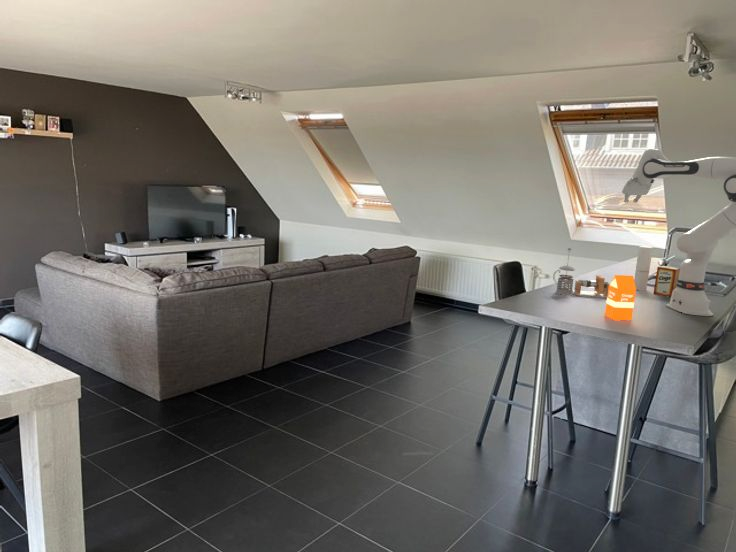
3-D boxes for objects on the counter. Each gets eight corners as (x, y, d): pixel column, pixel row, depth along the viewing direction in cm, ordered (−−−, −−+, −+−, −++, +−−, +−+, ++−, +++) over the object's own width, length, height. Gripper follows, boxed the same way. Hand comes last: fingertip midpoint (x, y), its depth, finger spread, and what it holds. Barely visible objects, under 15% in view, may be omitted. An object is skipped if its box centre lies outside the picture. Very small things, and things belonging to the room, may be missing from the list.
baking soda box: (675, 296, 304) (680, 267, 301) (671, 297, 300) (675, 268, 297) (657, 292, 311) (662, 265, 308) (653, 293, 307) (657, 266, 304)
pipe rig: (613, 298, 289) (615, 284, 288) (576, 295, 292) (578, 281, 290) (607, 294, 300) (609, 280, 298) (571, 291, 302) (573, 277, 301)
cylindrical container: (643, 288, 323) (649, 246, 318) (648, 290, 316) (655, 248, 311) (631, 287, 323) (637, 245, 319) (635, 289, 316) (642, 247, 312)
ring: (602, 294, 291) (604, 278, 289) (598, 293, 291) (600, 278, 289) (598, 290, 299) (600, 275, 297) (594, 290, 299) (596, 275, 298)
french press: (570, 296, 289) (576, 250, 284) (548, 292, 296) (554, 247, 291) (575, 293, 297) (581, 248, 292) (554, 290, 304) (560, 245, 299)
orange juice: (604, 315, 252) (610, 273, 248) (622, 316, 252) (628, 274, 249) (613, 320, 244) (619, 276, 240) (631, 321, 245) (638, 277, 241)
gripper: (636, 179, 283) (624, 204, 289) (656, 180, 294) (645, 204, 300) (625, 175, 287) (614, 200, 293) (646, 176, 299) (635, 199, 305)
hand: (630, 202), depth 297 cm, fingers open, 8 cm apart
